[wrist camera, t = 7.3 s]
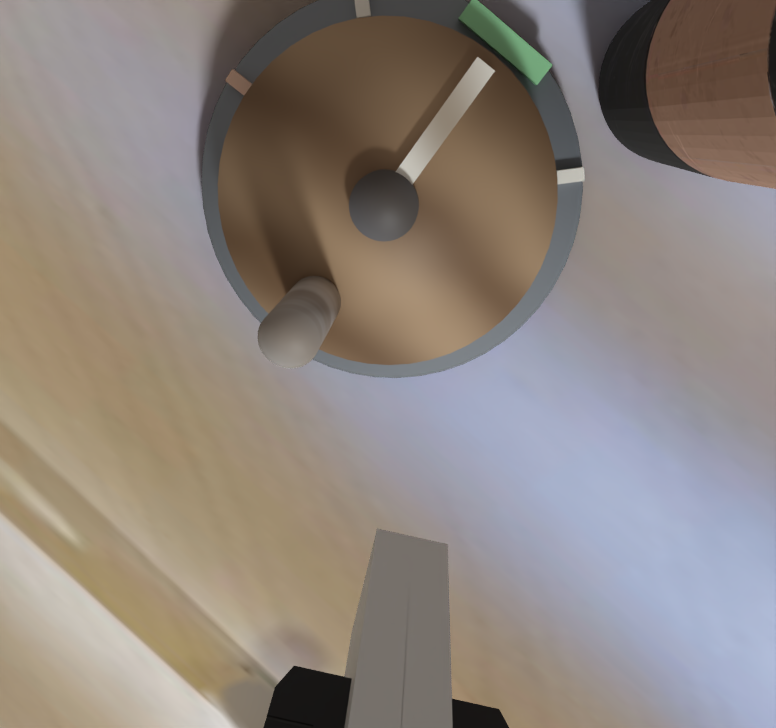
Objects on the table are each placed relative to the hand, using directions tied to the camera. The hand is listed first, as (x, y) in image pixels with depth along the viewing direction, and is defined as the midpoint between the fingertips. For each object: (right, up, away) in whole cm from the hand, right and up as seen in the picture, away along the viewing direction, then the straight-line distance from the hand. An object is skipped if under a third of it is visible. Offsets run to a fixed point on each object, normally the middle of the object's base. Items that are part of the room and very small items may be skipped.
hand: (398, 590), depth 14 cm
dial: (0, +12, +18) cm, 22 cm away
